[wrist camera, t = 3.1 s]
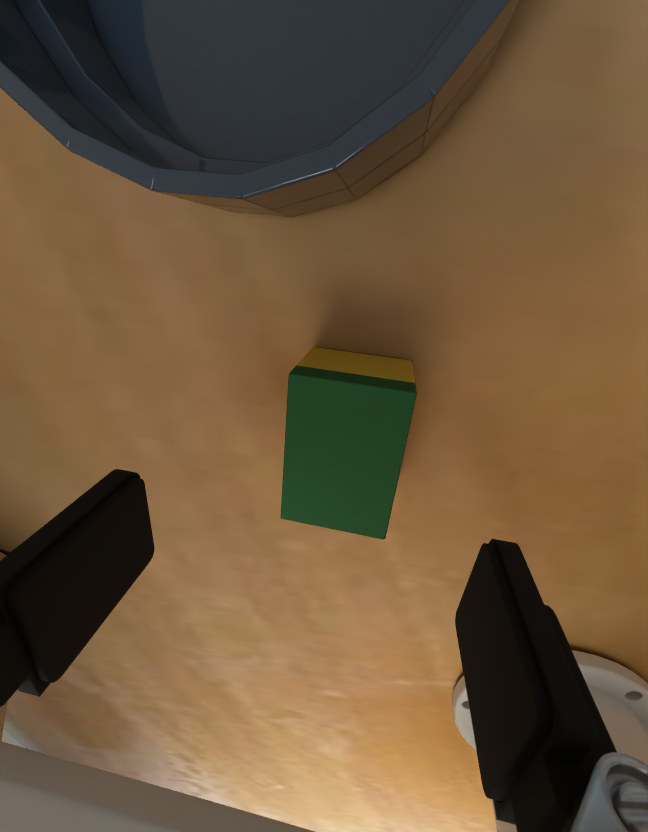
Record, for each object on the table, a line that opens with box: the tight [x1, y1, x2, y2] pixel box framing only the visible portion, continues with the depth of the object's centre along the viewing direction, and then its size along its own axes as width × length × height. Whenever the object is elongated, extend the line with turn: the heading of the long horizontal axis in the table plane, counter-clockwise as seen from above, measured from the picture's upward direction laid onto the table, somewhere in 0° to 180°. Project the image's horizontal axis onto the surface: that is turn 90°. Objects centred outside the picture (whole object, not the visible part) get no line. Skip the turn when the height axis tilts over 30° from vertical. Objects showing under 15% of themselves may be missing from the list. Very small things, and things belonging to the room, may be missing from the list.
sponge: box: [281, 347, 417, 539], centre depth 17 cm, size 5×7×4 cm
